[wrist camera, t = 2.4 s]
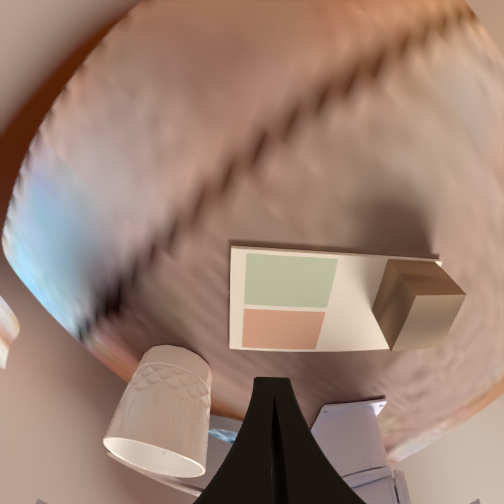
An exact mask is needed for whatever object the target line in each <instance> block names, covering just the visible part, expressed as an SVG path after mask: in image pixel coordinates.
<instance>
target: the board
mask: <svg viewBox="0 0 504 504" xmlns="http://www.w3.org/2000/svg"><path fill="white" fill-rule="evenodd" d="M388 259H398V260H414V261H429V262H436V263H437V264H438V265H439V266H441V264H442V261H441V260H440V259H428V258H413V257H399V256H385V255H370V254H355V253H340V252H325V251H310V250H294V249H278V248H263V247H246V246H231V272H230V349H242V350H259V351H287V352H334V351H362V350H379V349H389V346H388V344H387V342H386V340H385V338H384V336H383V334H382V331H381V329H380V327H379V325H378V323H377V321H376V319H375V317H374V315H373V313H372V311H371V310H372V307H373V305H374V302H375V299H376V296H377V293H378V290H379V287H380V284H381V280H382V277H383V274H384V271H385V267H386V264H387V260H388Z"/></svg>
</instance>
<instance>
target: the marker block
mask: <svg viewBox="0 0 504 504" xmlns="http://www.w3.org/2000/svg"><path fill="white" fill-rule="evenodd" d="M465 296H466V294H465V293H464V291H463V290H462V289H461V288H460V287H459V286H458V285H457V284H456V283H455V282H454V281H453V280H452V279H451V277H450V276H449V275H448V274H447V273H446V272H445V271H444V270H443V269H442V268H441V267H440V266H439V265H438V264H437V263H436V262H429V261H414V260H398V259H388V260H387V264H386V267H385V271H384V274H383V277H382V280H381V284H380V287H379V290H378V293H377V296H376V299H375V302H374V305H373V307H372V310H371V311H372V313H373V315H374V317H375V319H376V321H377V323H378V325H379V327H380V329H381V331H382V334H383V336H384V338H385V340H386V342H387V344H388V346H389V349H390V351H391V352H393V351H404V350H413V349H421V348H429V347H437V346H440V345H441V343H442V342H443V340H444V338H445V336H446V335H447V333H448V331H449V329H450V327H451V325H452V323H453V321H454V319H455V317H456V315H457V313H458V311H459V309H460V307H461V305H462V303H463V301H464V299H465Z"/></svg>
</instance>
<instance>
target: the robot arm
mask: <svg viewBox="0 0 504 504" xmlns="http://www.w3.org/2000/svg"><path fill="white" fill-rule="evenodd" d="M386 402H387V401H386V399H379V400H371V401H363V402H353V403H342V404H329V405H324V406H323V407H322V409H321V411H320V413H319V415H318V417H317V419H316V421H315V423H314V425H313V427H312V428H311V430H310V429H309V427H308V425H307V423H306V421H305V418H304V416H303V414H302V412H301V410H300V407H299V405H298V402H297V400H296V397H295V394H294V391H293V388H292V385H291V381H290V379H289V378H278V377H256V378H254V384H253V392H252V396H251V400H250V404H249V407H248V410H247V413H246V416H245V418H244V421H243V424H242V426H241V428H240V431H239V433H238V435H237V437H236V439H235V441H234V444H233V445H232V447H231V449H230V451H229V453H228V455H227V457H226V458H225V460H224V462H223V463H222V465H221V467H220V468H219V470H218V471H217V473H216V474H215V476H214V477H213V479H212V480H211V482H210V483H209V484H208V486H207V487H206V488H205V490H204V491H203V492H202V493H201V495H200V496H199V497H198V499H197V500H196V501H195V502H194V503H193V504H398V503H399V504H411V503H410V498H409V493H408V488H407V484H406V480H405V476H404V473H403V471H399V470H398V469H396V470H394V471H393V474H394V481H393V477H392V472H391V468H390V466H389V463H388V459H387V455H386V451H385V447H384V443H383V440H382V436H381V432H380V428H379V425H378V421H377V418H376V416H377V415H378V413H379V412H380V411H381V409H382V408H383V407H384V405H385V404H386ZM394 482H395V486H394ZM36 504H47V503H46V502H44V501H42V500H40V499H37V502H36ZM469 504H480V501H479V499H477V500H475V501H473V502H471V503H469Z"/></svg>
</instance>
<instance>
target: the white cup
mask: <svg viewBox="0 0 504 504" xmlns="http://www.w3.org/2000/svg"><path fill="white" fill-rule="evenodd" d="M211 383H212V373H211V370H210V367H209V365H208V364H207V363H206V362H205V361H204V360H203V359H202V358H201V357H200V356H199V355H197V354H195V353H193V352H191V351H189V350H187V349H185V348H183V347H177V346H172V345H161V346H154V347H152V348H150V349H149V350H148V351H147V352H145V353H144V355H143V357H142V359H141V361H140V363H139V366H138V368H137V370H136V372H135V373H134V375H133V376H132V378H131V379H130V382H129V384H128V387H127V388H126V390H125V392H124V394H123V396H122V398H121V400H120V402H119V405H118V407H117V409H116V411H115V413H114V416H113V418H112V420H111V422H110V425H109V427H108V429H107V432H106V434H105V436H104V439H103V443H104V445H105V446H106V448H107V449H108V450H109V451H111V452H112V453H113V454H115V455H116V456H118V457H119V458H121V459H123V460H125V461H126V462H128V463H130V464H133V465H135V466H137V467H140V468H143V469H145V470H148V471H152V472H155V473H159V474H163V475H168V476H175V477H197V476H201V475H203V474H204V473H205V467H206V453H207V442H208V441H207V440H208V431H209V412H210V392H211Z"/></svg>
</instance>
